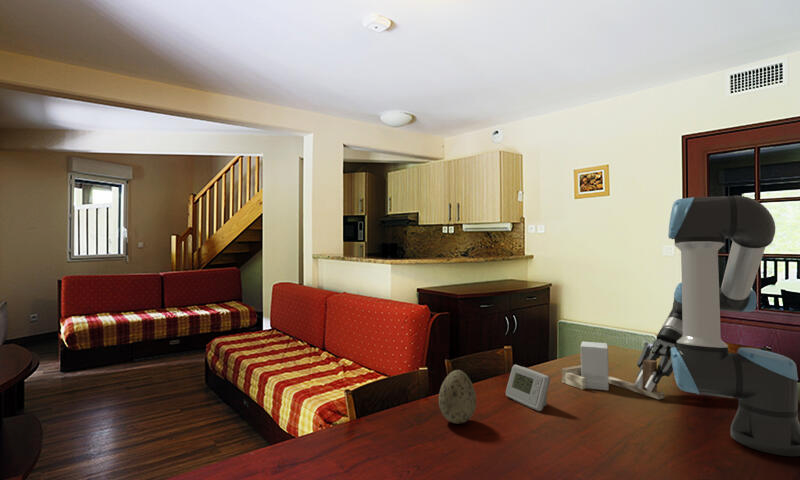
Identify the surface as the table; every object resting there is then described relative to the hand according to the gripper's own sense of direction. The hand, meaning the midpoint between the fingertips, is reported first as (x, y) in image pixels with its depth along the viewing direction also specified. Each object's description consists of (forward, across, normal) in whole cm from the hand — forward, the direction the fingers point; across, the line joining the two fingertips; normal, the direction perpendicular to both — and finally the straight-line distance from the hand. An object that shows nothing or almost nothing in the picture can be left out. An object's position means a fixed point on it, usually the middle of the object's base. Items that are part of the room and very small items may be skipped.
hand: (642, 387), depth 145 cm
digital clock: (+29, +14, +24) cm, 40 cm away
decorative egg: (+49, +11, +45) cm, 67 cm away
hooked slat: (+4, +10, 0) cm, 11 cm away
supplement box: (+5, +16, 0) cm, 16 cm away
